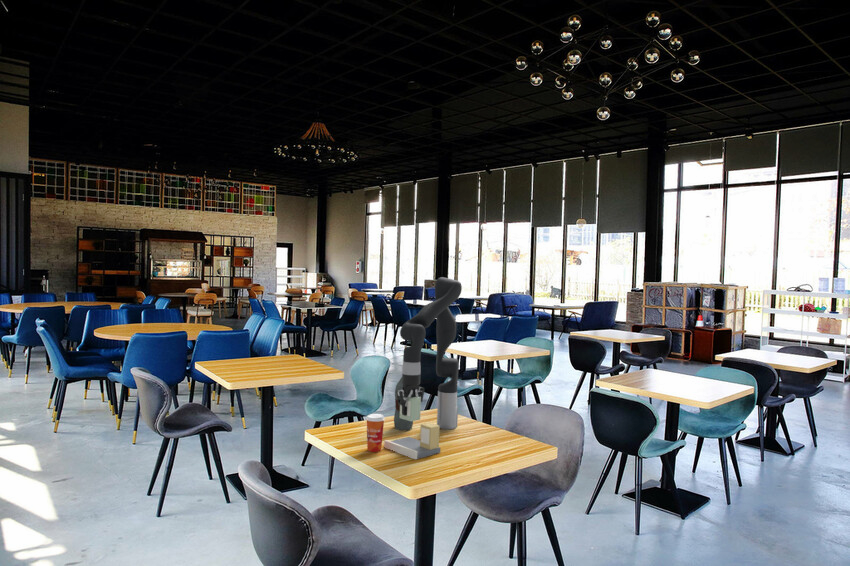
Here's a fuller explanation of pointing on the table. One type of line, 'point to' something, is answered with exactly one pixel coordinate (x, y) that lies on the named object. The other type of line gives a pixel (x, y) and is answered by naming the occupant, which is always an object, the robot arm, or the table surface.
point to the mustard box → (429, 436)
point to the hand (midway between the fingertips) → (409, 413)
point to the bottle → (398, 422)
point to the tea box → (412, 409)
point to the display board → (409, 448)
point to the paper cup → (374, 432)
